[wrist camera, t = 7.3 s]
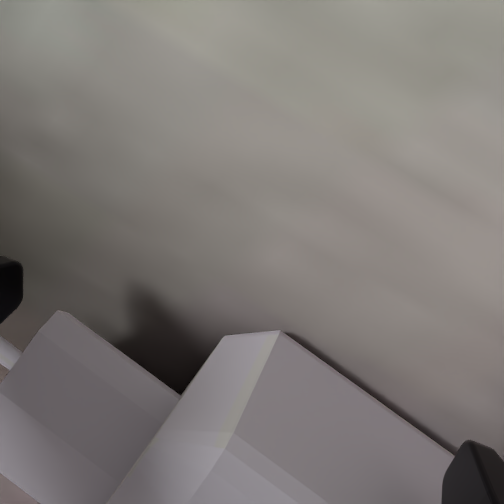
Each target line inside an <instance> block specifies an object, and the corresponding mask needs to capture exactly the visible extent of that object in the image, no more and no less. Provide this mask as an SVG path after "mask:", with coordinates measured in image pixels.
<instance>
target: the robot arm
mask: <svg viewBox="0 0 504 504" xmlns="http://www.w3.org/2000/svg"><path fill="white" fill-rule="evenodd" d="M22 298H23V267H22V265H21V263H19V262H18V261H16V260H13V259H11V258H8V257H5V256H0V324H1V323H2V322H3V321H4V320H5V319H6V318H7V317H8V316H9V315H10V314H11V313H12V312H13V311H14V310H15V309H17V307H18V306H19V305H20V303H21V301H22ZM441 504H504V461H503V460H502V459H501V458H500V456H499V455H498V454H497V453H496V452H495V451H494V450H493V449H492V448H490V447H487V446H485V445H482V444H480V443H477V442H475V441H472V440H468V441H465V442H464V443H463V444H462V445H461V447H460V449H459V450H458V452H457V454H456V455H455V457H454V458H453V460H452V462H451V463H450V465H449V467H448V468H447V470H446V472H445V474H444V478H443V482H442V499H441Z"/></svg>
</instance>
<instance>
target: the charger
mask: <svg viewBox="0 0 504 504" xmlns="http://www.w3.org/2000/svg"><path fill="white" fill-rule="evenodd" d="M0 364H2V365H3V366H4V367H6V368H7V369H8V370H10V371H9V373H8V374H7V375H6V377H5V378H4V380H3V381H2V382H1V384H0V473H1V474H2V475H4V476H5V477H6V478H8V479H9V480H10V481H11V482H13V483H14V484H15V485H17V486H18V487H19V488H21V489H22V490H23V491H24V492H26V493H27V494H28V495H30V496H31V497H32V498H34V499H35V500H36V501H37V502H39V503H40V504H441V499H442V482H443V478H444V474H445V472H446V470H447V468H448V467H449V465H450V463H451V462H452V460H453V458H454V457H455V456H454V455H453V454H451V453H450V452H449V451H447V450H446V449H444V448H443V447H442V446H440V445H439V444H438V443H436V442H435V441H433V440H432V439H431V438H429V437H428V436H426V435H425V434H424V433H422V432H421V431H419V430H418V429H417V428H415V427H414V426H413V425H411V424H410V423H408V422H407V421H406V420H404V419H403V418H401V417H400V416H399V415H397V414H396V413H394V412H393V411H392V410H390V409H389V408H387V407H386V406H385V405H383V404H382V403H381V402H379V401H378V400H376V399H375V398H374V397H372V396H371V395H369V394H368V393H367V392H365V391H364V390H362V389H361V388H360V387H358V386H357V385H356V384H354V383H353V382H351V381H350V380H349V379H347V378H346V377H344V376H343V375H342V374H340V373H339V372H337V371H336V370H335V369H333V368H332V367H331V366H329V365H328V364H326V363H325V362H324V361H322V360H321V359H319V358H318V357H317V356H315V355H314V354H312V353H311V352H310V351H308V350H307V349H305V348H304V347H303V346H301V345H300V344H299V343H297V342H296V341H294V340H293V339H292V338H290V337H289V336H287V335H286V334H285V333H283V332H282V331H280V330H276V331H266V332H256V333H246V334H236V335H226V336H224V337H223V338H222V339H221V341H220V342H219V343H218V345H217V346H216V348H215V349H214V350H213V352H212V353H211V354H210V356H209V357H208V359H207V360H206V361H205V363H204V364H203V366H202V367H201V368H200V370H199V371H198V372H197V374H196V375H195V377H194V378H193V379H192V381H191V382H190V384H189V385H188V386H187V388H186V389H185V390H184V392H183V393H182V395H181V396H180V395H179V394H178V393H176V392H175V391H174V390H172V389H171V388H169V387H168V386H167V385H165V384H164V383H163V382H161V381H160V380H159V379H157V378H156V377H155V376H153V375H152V374H151V373H149V372H148V371H146V370H145V369H144V368H142V367H141V366H140V365H138V364H137V363H136V362H134V361H133V360H132V359H130V358H129V357H128V356H126V355H125V354H123V353H122V352H121V351H119V350H118V349H117V348H115V347H114V346H113V345H111V344H110V343H109V342H107V341H106V340H104V339H103V338H102V337H100V336H99V335H98V334H96V333H95V332H94V331H92V330H91V329H90V328H88V327H87V326H86V325H84V324H83V323H81V322H80V321H79V320H77V319H76V318H75V317H73V316H72V315H71V314H69V313H68V312H63V311H59V310H57V311H56V312H55V313H54V314H53V315H52V317H51V318H50V319H49V320H48V321H47V322H46V323H45V324H44V325H43V326H42V327H41V328H40V329H39V331H38V332H37V333H36V335H35V336H34V337H33V339H32V340H31V342H30V343H29V344H28V346H27V347H26V349H25V350H24V351H23V352H21V351H20V350H19V349H17V348H16V347H15V346H13V345H12V344H11V343H9V342H8V341H7V340H5V339H4V338H3V337H1V336H0Z"/></svg>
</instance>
